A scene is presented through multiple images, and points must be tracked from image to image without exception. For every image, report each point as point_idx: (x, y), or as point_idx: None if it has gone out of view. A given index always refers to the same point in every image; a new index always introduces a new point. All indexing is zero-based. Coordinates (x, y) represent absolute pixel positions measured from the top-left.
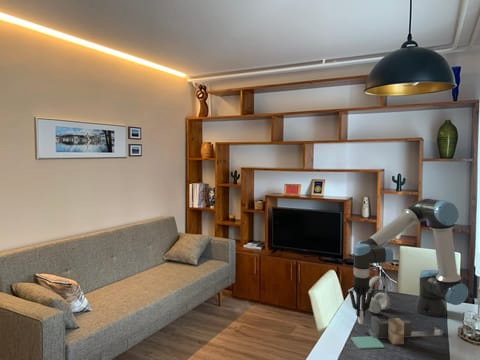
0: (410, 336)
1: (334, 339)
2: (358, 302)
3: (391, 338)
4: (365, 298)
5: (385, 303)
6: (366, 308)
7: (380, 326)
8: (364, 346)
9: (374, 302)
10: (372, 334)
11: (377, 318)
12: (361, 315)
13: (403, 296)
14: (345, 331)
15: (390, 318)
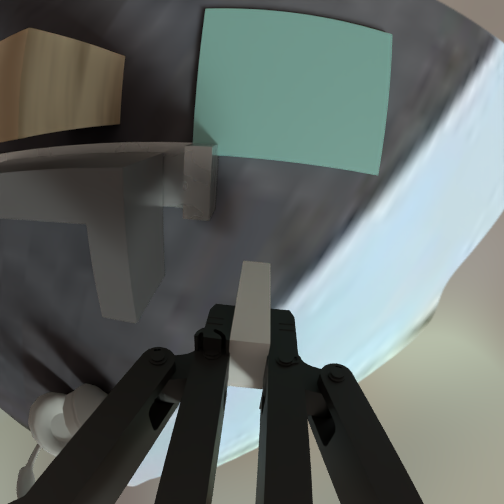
0: (11, 152)
1: (463, 190)
2: (303, 448)
3: (110, 77)
4: (160, 493)
5: (49, 410)
6: (175, 362)
7: (122, 164)
8: (349, 34)
9: None
10: (214, 146)
11: (101, 280)
12: (256, 307)
13: (21, 419)
14: (352, 270)
15: (6, 138)
